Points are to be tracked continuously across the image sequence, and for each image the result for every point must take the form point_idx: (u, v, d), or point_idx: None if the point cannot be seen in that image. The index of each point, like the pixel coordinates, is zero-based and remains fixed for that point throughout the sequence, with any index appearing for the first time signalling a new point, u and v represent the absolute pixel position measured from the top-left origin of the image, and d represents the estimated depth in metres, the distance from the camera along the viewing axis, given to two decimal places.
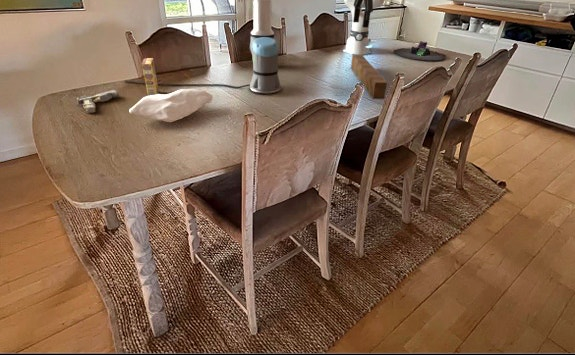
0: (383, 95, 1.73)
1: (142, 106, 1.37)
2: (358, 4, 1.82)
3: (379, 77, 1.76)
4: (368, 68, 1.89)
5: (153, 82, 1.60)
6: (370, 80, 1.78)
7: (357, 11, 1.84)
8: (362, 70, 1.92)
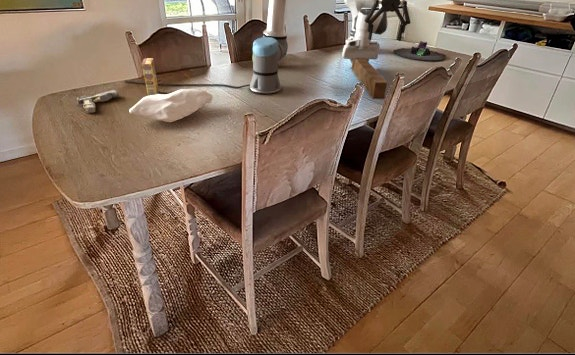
0: (383, 95, 1.73)
1: (142, 106, 1.37)
2: None
3: (379, 77, 1.76)
4: (368, 68, 1.89)
5: (153, 82, 1.60)
6: (370, 80, 1.78)
7: None
8: (362, 70, 1.92)
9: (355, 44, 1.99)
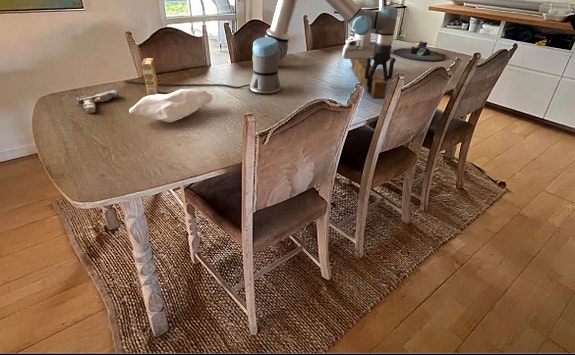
0: (383, 95, 1.73)
1: (142, 106, 1.37)
2: None
3: (379, 77, 1.76)
4: None
5: (153, 82, 1.60)
6: None
7: None
8: (361, 70, 1.92)
9: (355, 44, 1.99)
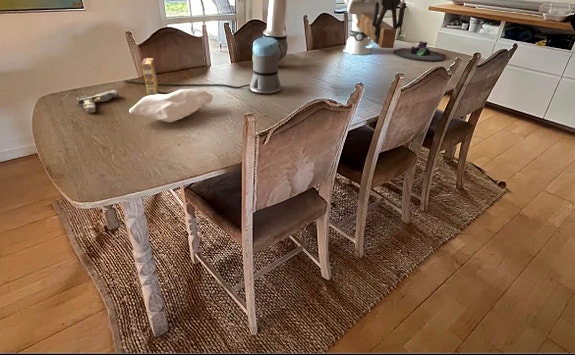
0: (392, 44, 1.61)
1: (142, 106, 1.37)
2: None
3: (388, 26, 1.63)
4: None
5: (153, 82, 1.60)
6: None
7: None
8: (368, 22, 1.80)
9: None
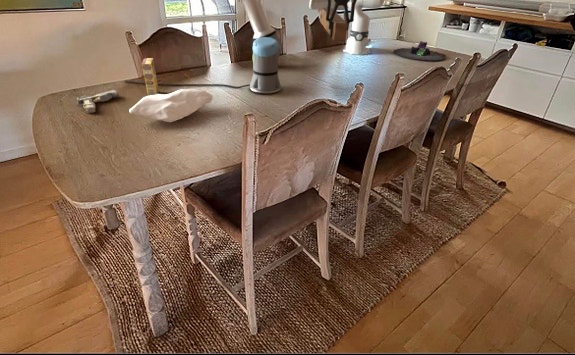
0: (344, 37, 1.69)
1: (142, 106, 1.37)
2: None
3: (341, 20, 1.72)
4: None
5: (153, 82, 1.60)
6: None
7: None
8: None
9: None
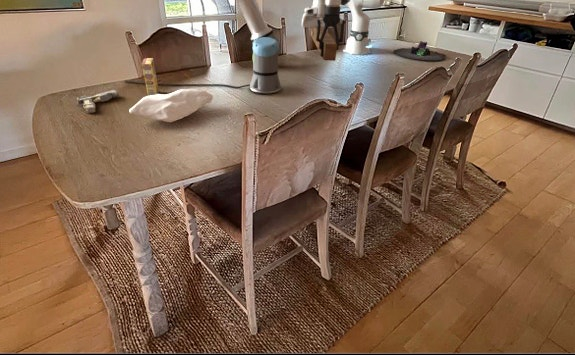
0: (334, 57, 1.76)
1: (142, 106, 1.37)
2: None
3: (331, 40, 1.79)
4: None
5: (153, 82, 1.60)
6: None
7: None
8: None
9: (313, 12, 2.02)
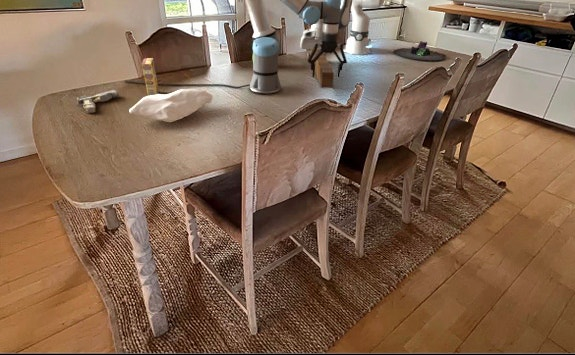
0: (331, 85, 1.83)
1: (142, 106, 1.37)
2: None
3: (328, 68, 1.86)
4: (321, 60, 1.99)
5: (153, 82, 1.60)
6: (320, 71, 1.88)
7: (314, 66, 1.84)
8: (315, 62, 2.02)
9: (311, 35, 2.09)
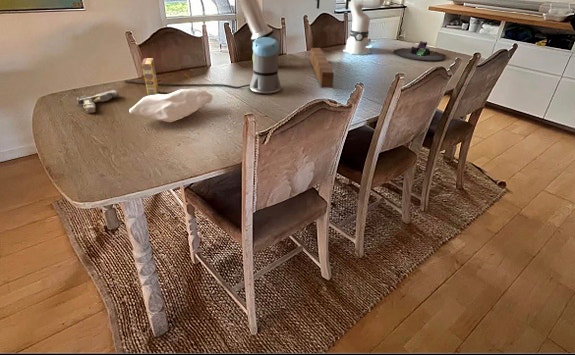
0: (331, 85, 1.83)
1: (142, 106, 1.37)
2: None
3: (328, 68, 1.86)
4: (321, 60, 1.99)
5: (153, 82, 1.60)
6: (320, 71, 1.88)
7: None
8: (316, 62, 2.02)
9: None
